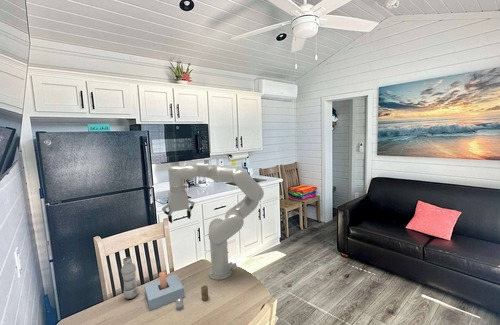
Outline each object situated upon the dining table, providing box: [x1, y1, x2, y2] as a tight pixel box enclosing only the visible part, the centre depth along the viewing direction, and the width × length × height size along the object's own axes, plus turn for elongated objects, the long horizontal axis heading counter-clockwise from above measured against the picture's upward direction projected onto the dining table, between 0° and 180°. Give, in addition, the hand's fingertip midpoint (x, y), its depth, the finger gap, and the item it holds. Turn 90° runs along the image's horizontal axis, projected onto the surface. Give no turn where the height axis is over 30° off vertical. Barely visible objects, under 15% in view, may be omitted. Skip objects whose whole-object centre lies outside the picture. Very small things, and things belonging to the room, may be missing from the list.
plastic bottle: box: [120, 256, 139, 300], centre depth 122 cm, size 6×7×20 cm
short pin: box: [175, 297, 184, 311], centre depth 114 cm, size 3×3×4 cm
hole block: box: [143, 273, 186, 311], centre depth 123 cm, size 16×14×5 cm
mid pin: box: [200, 284, 209, 302], centre depth 119 cm, size 3×3×6 cm
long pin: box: [158, 270, 167, 290], centre depth 122 cm, size 3×3×12 cm
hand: (180, 220), depth 133 cm, fingers open, 9 cm apart
